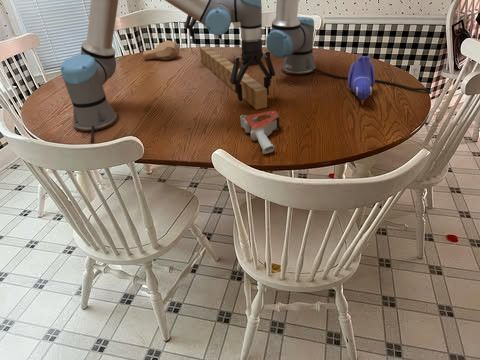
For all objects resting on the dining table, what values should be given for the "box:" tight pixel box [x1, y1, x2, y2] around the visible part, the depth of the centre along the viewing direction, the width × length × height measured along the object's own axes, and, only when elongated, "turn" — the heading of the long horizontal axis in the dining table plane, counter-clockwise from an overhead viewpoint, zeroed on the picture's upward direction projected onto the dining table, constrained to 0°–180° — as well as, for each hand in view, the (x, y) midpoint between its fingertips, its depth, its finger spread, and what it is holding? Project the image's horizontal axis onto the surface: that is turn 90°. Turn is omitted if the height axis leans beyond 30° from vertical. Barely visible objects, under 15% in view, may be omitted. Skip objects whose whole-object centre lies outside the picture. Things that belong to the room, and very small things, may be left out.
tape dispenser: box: [239, 110, 280, 155], centre depth 117 cm, size 18×5×20 cm
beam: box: [199, 45, 268, 111], centre depth 159 cm, size 67×5×7 cm, turn 23°
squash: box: [142, 39, 180, 61], centre depth 190 cm, size 11×20×9 cm, turn 92°
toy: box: [347, 55, 376, 106], centre depth 135 cm, size 10×17×25 cm
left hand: (253, 97), depth 140 cm, fingers open, 11 cm apart
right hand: (207, 40), depth 174 cm, fingers open, 13 cm apart
